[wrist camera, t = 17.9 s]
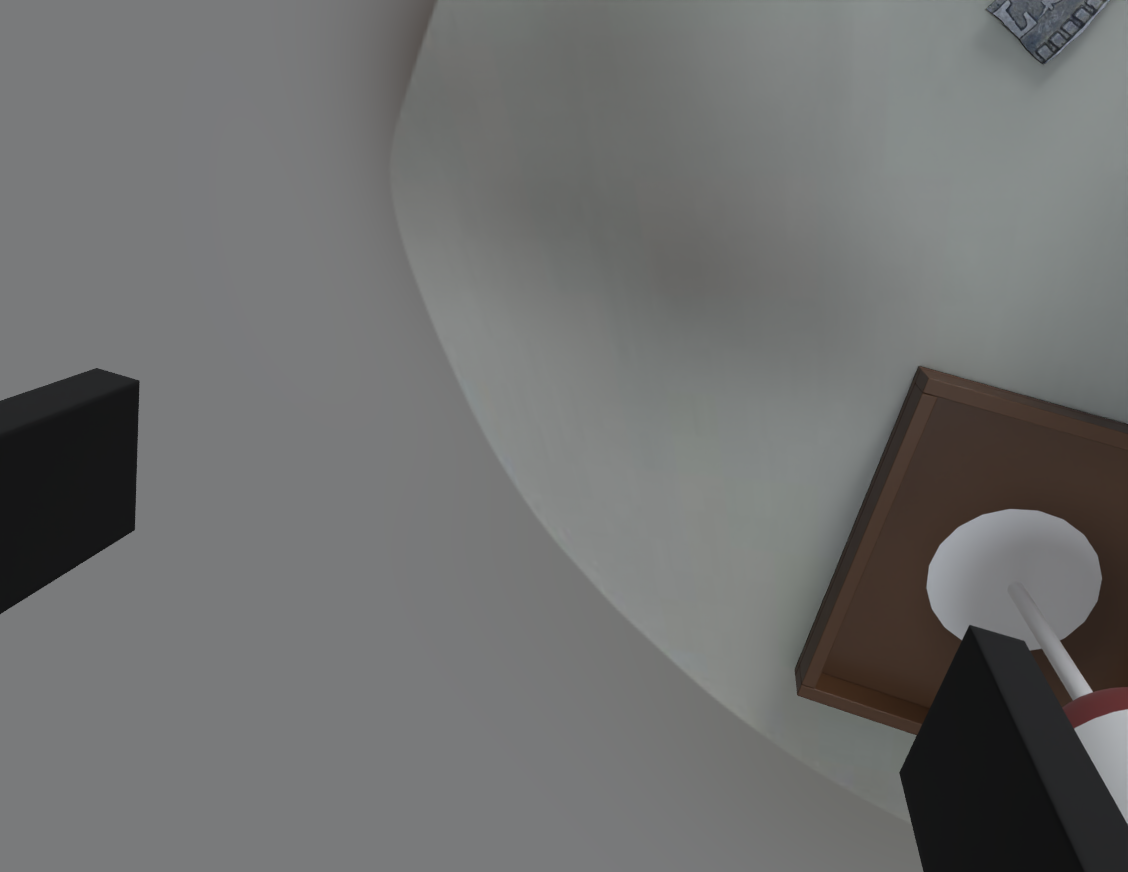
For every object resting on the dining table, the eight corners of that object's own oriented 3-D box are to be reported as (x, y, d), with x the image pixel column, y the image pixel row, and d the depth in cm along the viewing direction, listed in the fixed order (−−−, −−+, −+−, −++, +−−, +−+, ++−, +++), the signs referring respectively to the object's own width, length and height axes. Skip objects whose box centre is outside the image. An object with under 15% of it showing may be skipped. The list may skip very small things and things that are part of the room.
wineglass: (1068, 471, 43) (1384, 776, 21) (1134, 632, 45) (1487, 1062, 23) (892, 534, 46) (1016, 857, 24) (961, 683, 48) (1131, 1105, 26)
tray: (918, 365, 43) (928, 377, 41) (1273, 465, 41) (1306, 483, 39) (794, 670, 50) (796, 695, 48) (1093, 768, 48) (1111, 801, 46)
